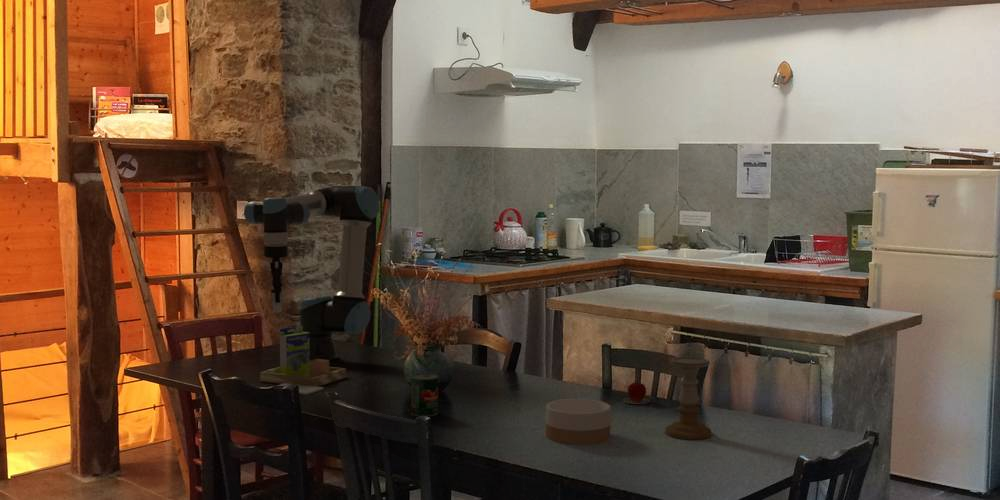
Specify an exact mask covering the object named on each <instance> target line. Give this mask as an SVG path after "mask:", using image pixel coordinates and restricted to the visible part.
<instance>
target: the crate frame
mask: <svg viewBox="0 0 1000 500" xmlns="http://www.w3.org/2000/svg"><path fill="white" fill-rule="evenodd" d="M345 378H347V368H344V367H337V366H336V367H335V366H334V367H333V366H329V373H327V374H324V375H321V376H317V377H310V376H309V377H305V376H296V375H287V374H280V366H278V367H274V368H270V369H267V370H264V371H260V372H259V379H260V380H259V381H260V382H266V383H272V384H273V383H274V384H279V385H281V384H284V383H289V384H298V385H307V386H316V387H322V386H324V385H326V384H329V383H333V382H336V381H339V380H341V379H345Z"/></svg>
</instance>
